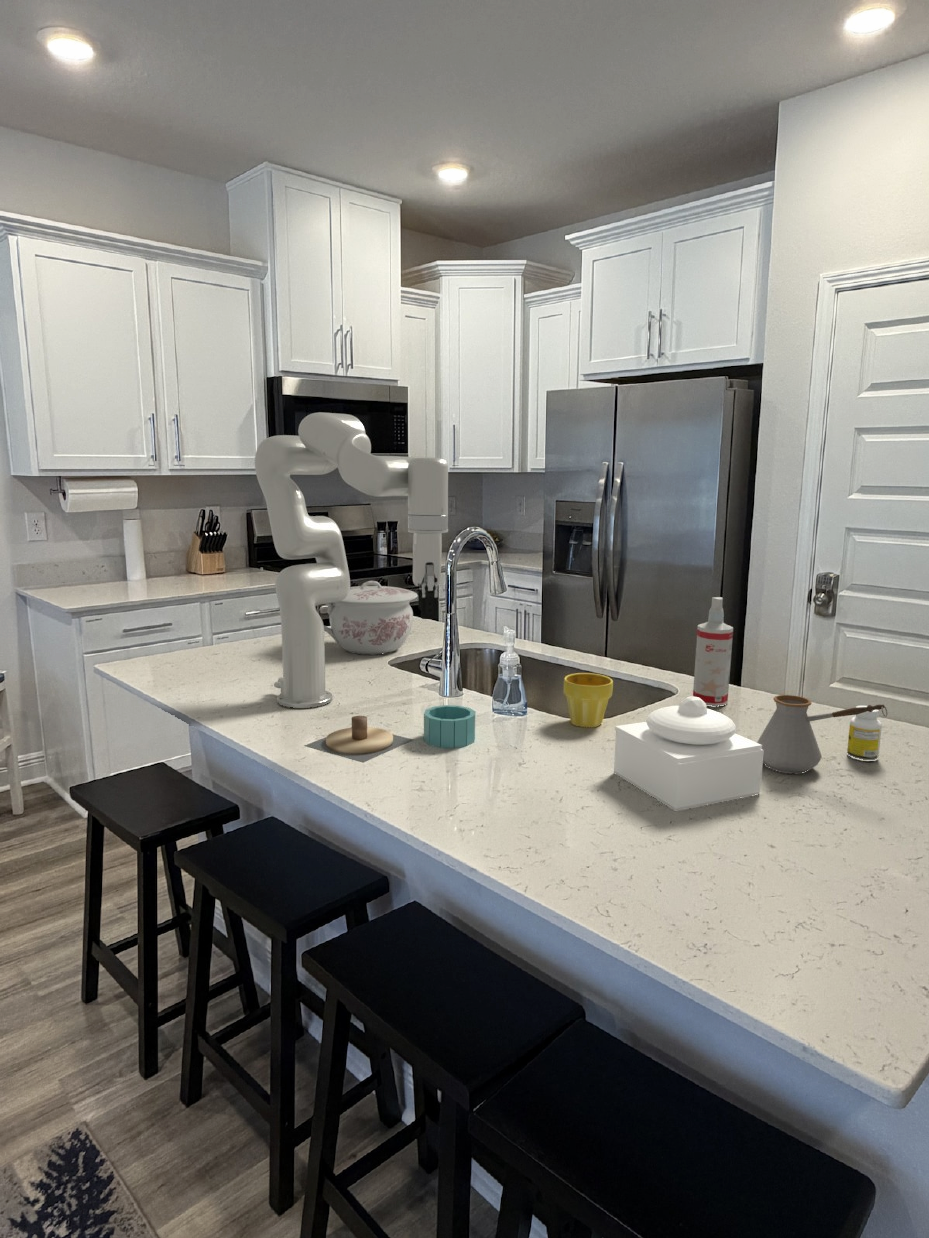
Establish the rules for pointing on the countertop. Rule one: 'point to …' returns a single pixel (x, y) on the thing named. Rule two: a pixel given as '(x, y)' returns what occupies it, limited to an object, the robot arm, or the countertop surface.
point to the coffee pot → (796, 734)
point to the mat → (359, 757)
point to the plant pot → (587, 697)
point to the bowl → (449, 726)
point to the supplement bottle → (864, 735)
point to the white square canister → (688, 756)
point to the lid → (359, 738)
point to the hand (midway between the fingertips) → (427, 613)
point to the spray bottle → (713, 657)
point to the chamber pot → (371, 618)
